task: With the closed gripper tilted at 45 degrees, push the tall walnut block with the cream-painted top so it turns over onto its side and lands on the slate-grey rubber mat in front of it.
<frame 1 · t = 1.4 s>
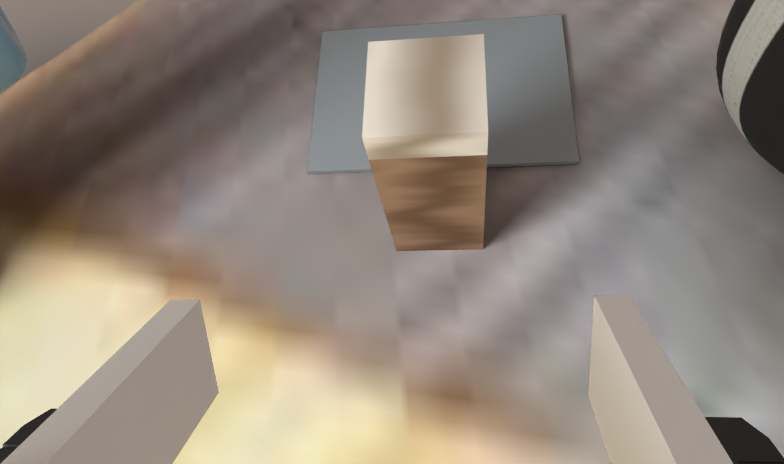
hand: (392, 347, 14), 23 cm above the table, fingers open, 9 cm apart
block: (439, 211, 41), on the table
mat: (439, 93, 45), on the table
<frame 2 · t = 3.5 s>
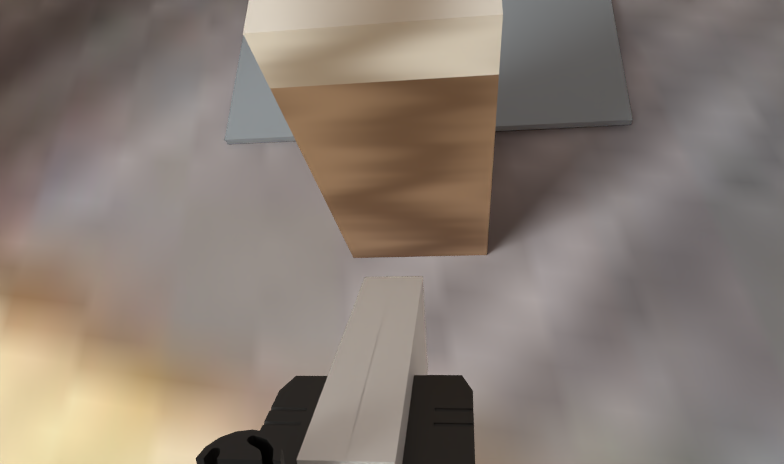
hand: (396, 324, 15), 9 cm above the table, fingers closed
block: (419, 197, 27), on the table
mat: (421, 27, 31), on the table
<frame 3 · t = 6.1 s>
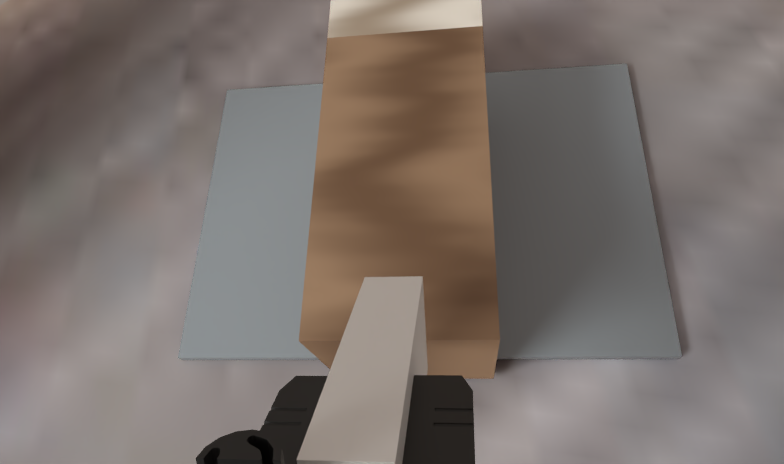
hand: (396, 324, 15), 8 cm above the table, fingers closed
block: (407, 362, 20), point 3 cm above the table, tilted 90°, touching mat
mat: (417, 205, 26), on the table
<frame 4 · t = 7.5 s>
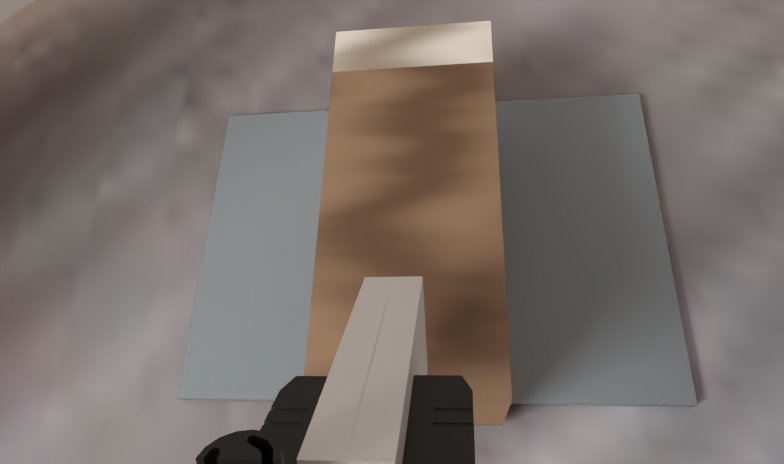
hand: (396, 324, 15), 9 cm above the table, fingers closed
block: (414, 413, 19), point 3 cm above the table, tilted 90°, touching mat
mat: (424, 239, 25), on the table
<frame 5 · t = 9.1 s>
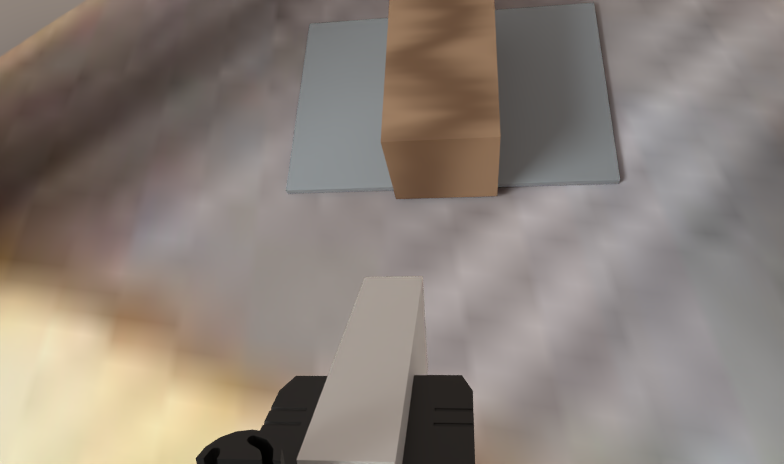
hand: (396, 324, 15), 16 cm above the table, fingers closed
block: (443, 171, 31), point 3 cm above the table, tilted 90°, touching mat
mat: (446, 96, 38), on the table
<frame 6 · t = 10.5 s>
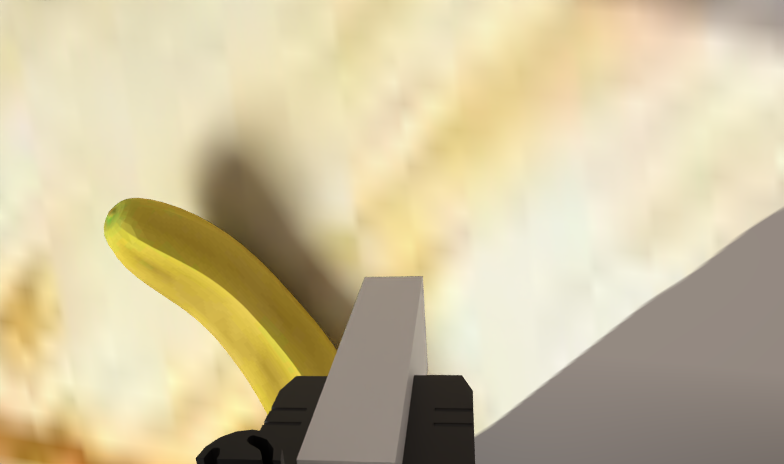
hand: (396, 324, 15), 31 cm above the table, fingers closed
fruit: (276, 315, 51), on the table
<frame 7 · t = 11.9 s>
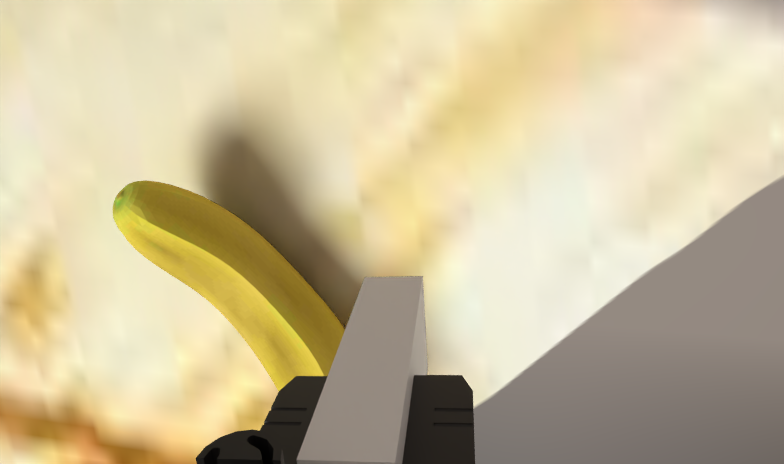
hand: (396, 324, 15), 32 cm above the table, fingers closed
fruit: (282, 292, 52), on the table
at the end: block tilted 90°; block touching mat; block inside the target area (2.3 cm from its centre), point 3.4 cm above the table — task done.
